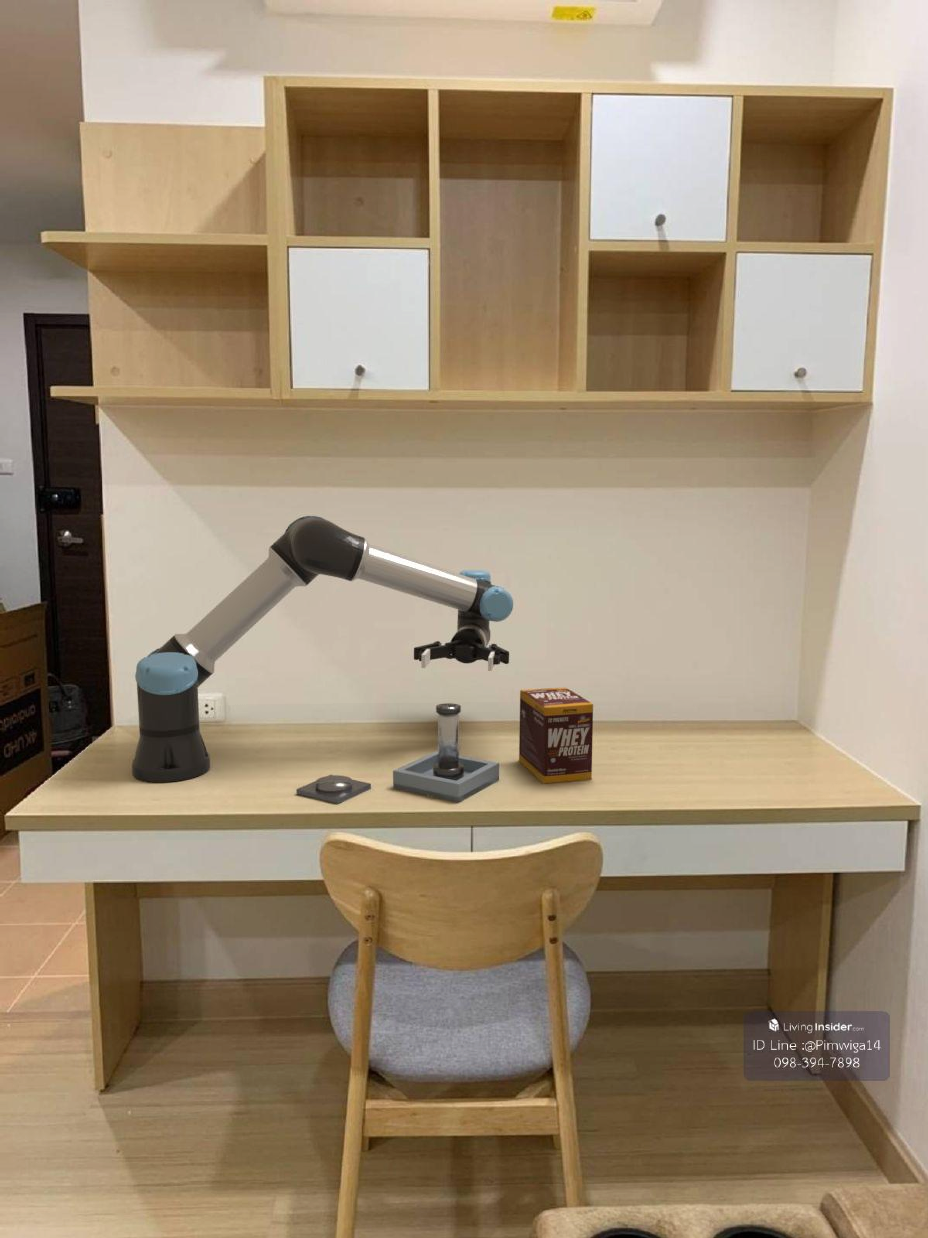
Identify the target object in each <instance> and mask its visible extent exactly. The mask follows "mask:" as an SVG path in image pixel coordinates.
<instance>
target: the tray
mask: <svg viewBox="0 0 928 1238" xmlns="http://www.w3.org/2000/svg"><path fill="white" fill-rule="evenodd" d="M436 763H438V750H435V751H433V752H431V753H429V754H426V755H424V756H422V757H420V758H418V759H415V760H413V761H411V762H409V763H406V764H405V765H403V766H400V767H398V768H396V769H393V771H392V785H393V786H392V787H393V789H396V790H400V791H405V792H409V793H413V792H414V794H419V795H423V796H427V795H429V796H428V797H431V796H432V797H431V798H437V799H440V800H445V799H447V800H446V801H449V800H450V801H449V802H454V803H458V802H459V803H461V802H462V800H463V801H464V799H465V800H466V799H468V798H470V797H472V796H473V795H475V794H477V793H479V792H480V791H482V790H484V789H486V788H488V787H489V786H491V785H493V784H494V783H496V782H498V781H499V780H500V762H496V761H491V760H486V759H480V758H475V757H470V756H464V755H461V754H459V763H461V764H463V765H464V777H463V778H461V779H459V780H457V781H455V780H450V779H445V778H441V777H436V776H433V765H434V764H436ZM471 795H472V796H471ZM469 796H470V797H469Z"/></svg>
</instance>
